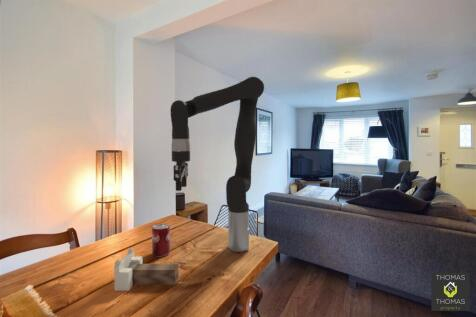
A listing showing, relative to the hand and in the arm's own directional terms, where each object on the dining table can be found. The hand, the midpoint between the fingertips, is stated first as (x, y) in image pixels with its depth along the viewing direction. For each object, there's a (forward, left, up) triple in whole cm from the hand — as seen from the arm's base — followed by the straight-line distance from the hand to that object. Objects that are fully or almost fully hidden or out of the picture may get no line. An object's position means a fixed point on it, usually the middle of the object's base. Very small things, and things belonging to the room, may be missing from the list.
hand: (181, 188), depth 97 cm
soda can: (+9, 0, -28) cm, 30 cm away
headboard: (+13, +20, -28) cm, 37 cm away
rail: (+5, +20, -28) cm, 35 cm away
